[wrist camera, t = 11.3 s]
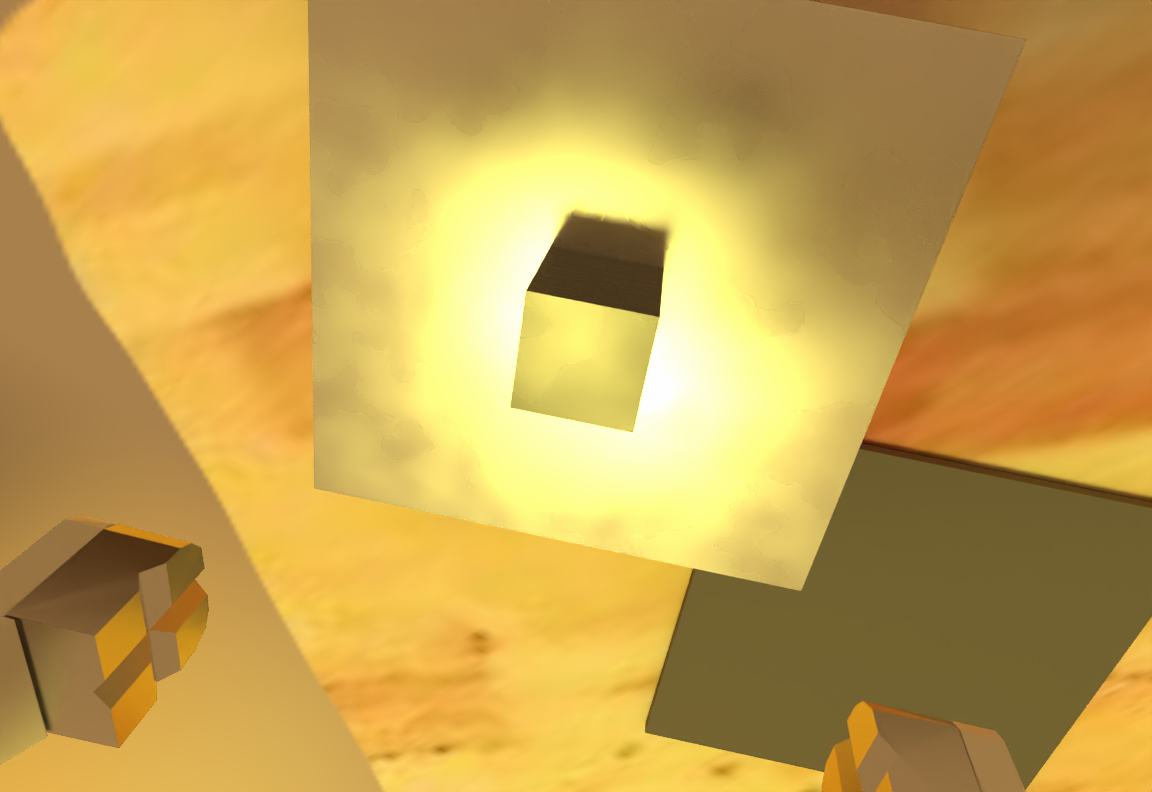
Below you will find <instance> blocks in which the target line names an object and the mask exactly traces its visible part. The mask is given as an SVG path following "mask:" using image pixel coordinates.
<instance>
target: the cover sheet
mask: <svg viewBox="0 0 1152 792" xmlns="http://www.w3.org/2000/svg"><path fill="white" fill-rule="evenodd" d="M308 32H309V110H310V189H311V268H312V346H313V425H314V488H315V489H320V490H325V491H330V492H334V493H339V494H344V495H348V496H353V497H358V498H363V499H367V500H372V501H377V502H382V503H386V504H391V505H396V506H401V507H405V508H410V509H415V510H420V511H424V512H429V513H434V514H438V515H443V516H448V517H453V518H457V519H462V520H467V521H472V522H476V523H481V524H486V525H491V526H495V527H500V528H505V529H510V530H514V531H519V532H524V533H529V534H533V535H538V536H543V537H547V538H552V539H557V540H562V541H566V542H571V543H576V544H581V545H585V546H590V547H595V548H600V549H604V550H609V551H614V552H619V553H623V554H628V555H633V556H637V557H642V558H647V559H652V560H656V561H661V562H666V563H671V564H675V565H680V566H685V567H690V568H694V569H699V570H704V571H709V572H713V573H718V574H723V575H728V576H732V577H737V578H742V579H746V580H751V581H756V582H761V583H765V584H770V585H775V586H780V587H784V588H789V589H794V590H799V591H801V590H802V588H803V585H804V583H805V580H806V578H807V575H808V573H809V570H810V568H811V566H812V563H813V561H814V558H815V556H816V553H817V551H818V548H819V546H820V544H821V541H822V539H823V536H824V534H825V531H826V529H827V526H828V524H829V521H830V519H831V517H832V514H833V512H834V509H835V507H836V504H837V502H838V499H839V497H840V494H841V492H842V490H843V487H844V485H845V482H846V480H847V477H848V475H849V472H850V470H851V468H852V465H853V463H854V460H855V458H856V455H857V453H858V450H859V448H860V445H861V443H862V441H863V438H864V436H865V433H866V431H867V428H868V426H869V423H870V421H871V419H872V416H873V414H874V411H875V409H876V406H877V404H878V401H879V399H880V396H881V394H882V392H883V389H884V387H885V384H886V382H887V379H888V377H889V374H890V372H891V369H892V367H893V365H894V362H895V360H896V357H897V355H898V352H899V350H900V347H901V345H902V343H903V340H904V338H905V335H906V333H907V330H908V328H909V325H910V323H911V320H912V318H913V316H914V313H915V311H916V308H917V306H918V303H919V301H920V298H921V296H922V294H923V291H924V289H925V286H926V284H927V281H928V279H929V276H930V274H931V271H932V269H933V267H934V264H935V262H936V259H937V257H938V254H939V252H940V249H941V247H942V244H943V242H944V240H945V237H946V235H947V232H948V230H949V227H950V225H951V222H952V220H953V218H954V215H955V213H956V210H957V208H958V205H959V203H960V200H961V198H962V195H963V193H964V191H965V188H966V186H967V183H968V181H969V178H970V176H971V173H972V171H973V168H974V166H975V164H976V161H977V159H978V156H979V154H980V151H981V149H982V146H983V144H984V142H985V139H986V137H987V134H988V132H989V129H990V127H991V124H992V122H993V119H994V117H995V115H996V112H997V110H998V107H999V105H1000V102H1001V100H1002V97H1003V95H1004V93H1005V90H1006V88H1007V85H1008V83H1009V80H1010V78H1011V75H1012V73H1013V70H1014V68H1015V66H1016V63H1017V61H1018V58H1019V56H1020V53H1021V51H1022V48H1023V46H1024V43H1025V41H1026V39H1021V38H1015V37H1010V36H1004V35H999V34H993V33H988V32H982V31H976V30H971V29H965V28H960V27H954V26H949V25H943V24H938V23H932V22H927V21H921V20H916V19H910V18H904V17H899V16H893V15H888V14H882V13H877V12H871V11H866V10H860V9H855V8H849V7H844V6H838V5H832V4H827V3H821V2H816V1H810V0H308Z"/></svg>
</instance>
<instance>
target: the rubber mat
mask: <svg viewBox="0 0 1152 792" xmlns="http://www.w3.org/2000/svg"><path fill="white" fill-rule="evenodd" d="M1151 617H1152V502H1149V501H1144V500H1139V499H1135V498H1130V497H1125V496H1120V495H1115V494H1110V493H1105V492H1100V491H1095V490H1090V489H1085V488H1080V487H1075V486H1070V485H1065V484H1061V483H1056V482H1051V481H1046V480H1041V479H1036V478H1031V477H1026V476H1021V475H1016V474H1011V473H1006V472H1001V471H996V470H991V469H987V468H982V467H977V466H972V465H967V464H962V463H957V462H952V461H947V460H942V459H937V458H932V457H927V456H922V455H917V454H913V453H908V452H903V451H898V450H893V449H888V448H883V447H878V446H873V445H868V444H863V443H861V445H860V448H859V450H858V453H857V455H856V458H855V460H854V463H853V465H852V468H851V470H850V472H849V475H848V477H847V480H846V482H845V485H844V487H843V490H842V492H841V494H840V497H839V499H838V502H837V504H836V507H835V509H834V512H833V514H832V517H831V519H830V521H829V524H828V526H827V529H826V531H825V534H824V536H823V539H822V541H821V544H820V546H819V548H818V551H817V553H816V556H815V558H814V561H813V563H812V566H811V568H810V570H809V573H808V575H807V578H806V580H805V583H804V585H803V588H802V590H801V591H799V590H794V589H789V588H784V587H780V586H775V585H770V584H765V583H761V582H756V581H751V580H746V579H742V578H737V577H732V576H728V575H723V574H718V573H713V572H709V571H704V570H699V569H693V572H692V575H691V579H690V582H689V585H688V588H687V591H686V595H685V598H684V601H683V604H682V608H681V611H680V614H679V617H678V621H677V624H676V627H675V630H674V634H673V637H672V640H671V643H670V647H669V650H668V653H667V656H666V660H665V663H664V666H663V669H662V672H661V676H660V679H659V682H658V685H657V689H656V692H655V695H654V698H653V702H652V705H651V708H650V711H649V715H648V718H647V721H646V726H645V733H649V734H654V735H658V736H663V737H667V738H672V739H676V740H681V741H685V742H690V743H695V744H699V745H704V746H708V747H713V748H717V749H722V750H726V751H731V752H735V753H740V754H745V755H749V756H754V757H758V758H763V759H767V760H772V761H776V762H781V763H785V764H790V765H795V766H799V767H804V768H808V769H813V770H817V771H822V772H824V771H825V766H826V763H827V760H828V758H829V756H830V754H831V752H832V749H833V747H834V745H836V744H838V743H840V742H842V741H844V740H847V739H849V738H850V734H849V728H848V723H847V720H848V718H849V716H850V715H851V713H852V711H853V709H854V707H855V706H856V705H858V704H859V703H860V702H862V701H866V702H871V703H875V704H880V705H884V706H889V707H893V708H898V709H902V710H907V711H911V712H915V713H920V714H924V715H929V716H933V717H938V718H942V719H945V720H947V721H954V722H959V723H963V724H968V725H972V726H976V727H981V728H985V729H990V730H994V731H996V732H997V733H998V734H999V736H1000V737H1001V738H1002V739H1003V740H1004V742H1005V744H1006V747H1007V749H1008V751H1009V754H1010V756H1011V758H1012V761H1013V763H1014V766H1015V768H1016V770H1017V773H1018V775H1019V778H1020V780H1021V782H1022V785H1023V787H1024V789H1025V790H1026V789H1027V787H1028V786H1029V784H1030V783H1031V782H1032V780H1033V779H1034V778H1035V776H1036V775H1037V773H1038V772H1039V771H1040V769H1041V768H1042V767H1043V765H1044V764H1045V762H1046V761H1047V760H1048V758H1049V757H1050V756H1051V754H1052V753H1053V751H1054V750H1055V749H1056V747H1057V746H1058V745H1059V743H1060V742H1061V740H1062V739H1063V738H1064V736H1065V735H1066V734H1067V732H1068V731H1069V729H1070V728H1071V727H1072V725H1073V724H1074V723H1075V721H1076V720H1077V718H1078V717H1079V716H1080V714H1081V713H1082V712H1083V710H1084V709H1085V707H1086V706H1087V705H1088V703H1089V702H1090V701H1091V699H1092V698H1093V696H1094V695H1095V694H1096V692H1097V691H1098V690H1099V688H1100V687H1101V685H1102V684H1103V683H1104V681H1105V680H1106V679H1107V677H1108V676H1109V674H1110V673H1111V672H1112V670H1113V669H1114V668H1115V666H1116V665H1117V663H1118V662H1119V661H1120V659H1121V658H1122V657H1123V655H1124V654H1125V652H1126V651H1127V650H1128V648H1129V647H1130V646H1131V644H1132V643H1133V641H1134V640H1135V639H1136V637H1137V636H1138V635H1139V633H1140V632H1141V630H1142V629H1143V628H1144V626H1145V625H1146V624H1147V622H1148V621H1149V619H1150V618H1151Z"/></svg>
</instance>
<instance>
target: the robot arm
mask: <svg viewBox="0 0 1152 792" xmlns="http://www.w3.org/2000/svg"><path fill="white" fill-rule="evenodd" d="M203 569H204V562H203V556H202V550H201V547H199V546H197V545H194V544H192V543H189V542H185V541H181V540H178V539H174V538H170V537H166V536H162V535H159V534H155V533H151V532H147V531H144V530H140V529H136V528H132V527H129V526H125V525H121V524H115V523H111V522H107V521H103V520H99V519H95V518H91V517H88V516H84V515H77V516H74V517H71V518H67V519H65V520H63V521H62V522H61V523H60V524H58V525H57V526H56V527H54V528H53V529H52V530H51V531H49V532H48V533H47V534H46V535H44V536H43V537H42V538H41V539H39V540H38V541H37V542H36V543H34V544H33V545H32V546H31V547H29V548H28V549H27V550H26V551H24V552H23V553H22V554H21V555H20V556H18V557H17V558H16V559H14V560H13V561H12V562H11V563H9V564H8V565H7V566H5V567H4V568H3V569H2V570H1V571H0V765H1V764H3V763H4V762H6V761H8V760H10V759H11V758H13V757H14V756H16V755H18V754H20V753H21V752H23V751H25V750H26V749H28V748H30V747H31V746H33V745H35V744H36V743H38V742H40V741H41V740H43V739H45V738H46V737H47V736H48V735H47V732H48V733H53V734H57V735H62V736H66V737H71V738H76V739H80V740H85V741H89V742H94V743H98V744H103V745H107V746H112V747H116V748H119V747H120V746H121V745H122V744H123V742H124V741H125V740H126V739H127V737H128V736H129V735H130V734H131V732H132V731H133V730H134V729H135V727H136V726H137V725H138V724H139V722H140V721H141V720H142V718H143V717H144V716H145V715H146V713H147V712H148V711H149V710H150V708H151V707H152V706H153V705H154V703H155V702H156V701H157V682H158V681H159V680H162V679H164V678H166V677H167V676H170V675H172V674H174V673H176V672H178V671H179V670H181V669H182V668H183V666H184V665H185V664H186V662H187V661H188V660H189V658H190V657H191V656H192V654H193V653H194V652H195V650H196V648H197V646H198V643H199V641H200V639H201V637H202V635H203V633H204V630H205V628H206V623H207V617H208V611H209V607H208V596H207V594H206V593H205V591H204V590H203V589H202V588H201V586H200V585H199V584H198V583H197V581H196V580H195V578H196V577H197V576H198V575H199V574H200V573H201V572H202V570H203ZM847 723H848V728H849V734H850V738H849V739H847V740H844V741H842V742H840V743H838V744H836V745H834V747H833V749H832V752H831V754H830V756H829V758H828V760H827V763H826V766H825V771H824V777H823V783H822V792H1025V789H1024V787H1023V785H1022V782H1021V780H1020V778H1019V775H1018V773H1017V770H1016V768H1015V766H1014V763H1013V761H1012V758H1011V756H1010V754H1009V751H1008V749H1007V747H1006V744H1005V742H1004V740H1003V739H1002V738H1001V737H1000V736H999V734H998V733H997V732H996V731H994V730H990V729H985V728H981V727H976V726H972V725H968V724H963V723H959V722H954V721H947V720H945V719H942V718H938V717H933V716H929V715H924V714H920V713H915V712H911V711H907V710H902V709H898V708H893V707H889V706H884V705H880V704H875V703H871V702H866V701H862V702H860V703H859V704H858V705H856V706H855V707H854V709H853V711H852V713H851V715H850V716H849V718H848V720H847Z"/></svg>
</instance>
